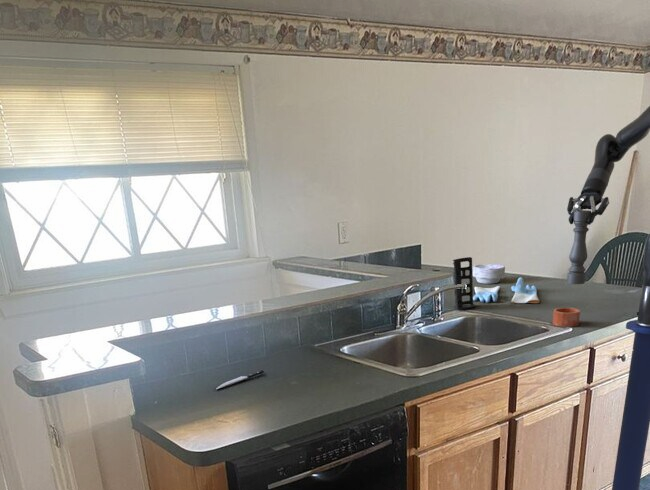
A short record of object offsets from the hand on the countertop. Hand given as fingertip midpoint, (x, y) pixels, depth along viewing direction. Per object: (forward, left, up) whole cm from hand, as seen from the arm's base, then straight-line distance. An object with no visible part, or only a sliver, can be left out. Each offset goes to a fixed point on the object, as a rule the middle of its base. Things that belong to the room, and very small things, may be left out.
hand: (579, 222), depth 230 cm
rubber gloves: (+50, -6, -35) cm, 61 cm away
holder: (+40, +22, -35) cm, 57 cm away
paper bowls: (+81, -18, -35) cm, 90 cm away
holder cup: (-3, +5, -35) cm, 35 cm away
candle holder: (+1, -2, -21) cm, 22 cm away
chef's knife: (-10, +130, -35) cm, 135 cm away
